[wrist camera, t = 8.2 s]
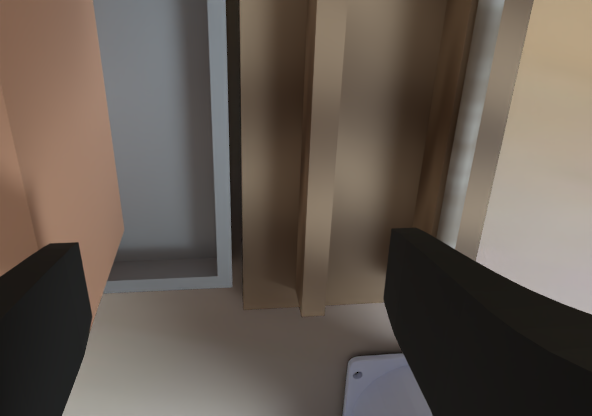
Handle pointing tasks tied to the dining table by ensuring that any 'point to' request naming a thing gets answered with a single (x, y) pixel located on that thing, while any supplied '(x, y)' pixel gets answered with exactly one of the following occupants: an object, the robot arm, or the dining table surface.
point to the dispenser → (366, 136)
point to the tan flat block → (56, 139)
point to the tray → (168, 141)
